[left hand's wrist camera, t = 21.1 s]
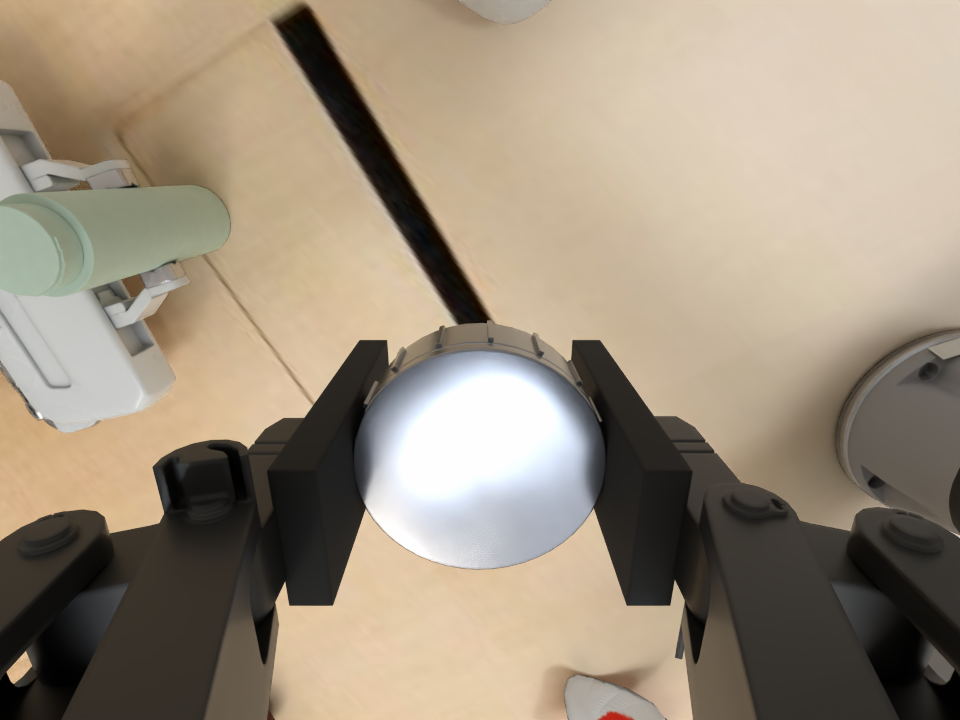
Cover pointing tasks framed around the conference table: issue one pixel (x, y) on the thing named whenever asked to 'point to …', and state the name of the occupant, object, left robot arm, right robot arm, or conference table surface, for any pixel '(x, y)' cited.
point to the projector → (505, 9)
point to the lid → (479, 448)
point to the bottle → (103, 235)
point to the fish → (605, 701)
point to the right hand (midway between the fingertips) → (154, 223)
